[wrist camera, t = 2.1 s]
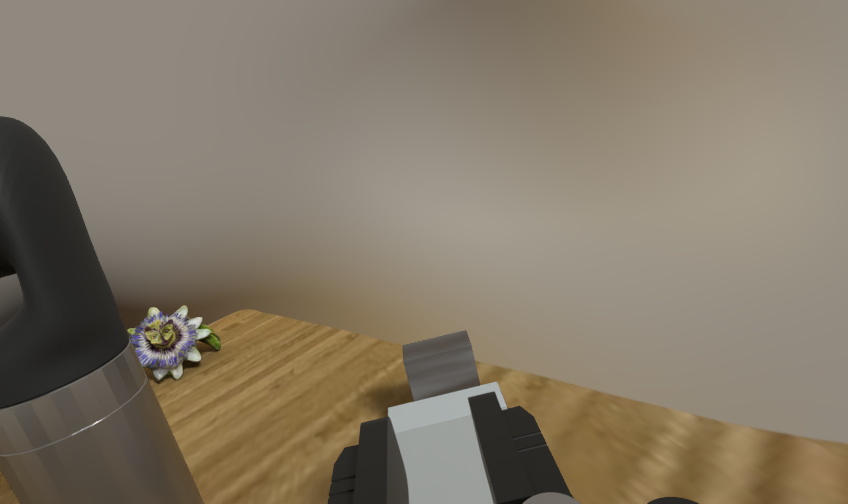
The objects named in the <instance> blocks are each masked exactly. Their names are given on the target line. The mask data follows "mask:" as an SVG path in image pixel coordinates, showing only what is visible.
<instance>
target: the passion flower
mask: <svg viewBox="0 0 848 504" xmlns="http://www.w3.org/2000/svg"><path fill="white" fill-rule="evenodd" d="M187 311H188V309H187V307H186V306H182V307H181V308H180V309H178V310H177V311H175V312H174V314H173V315H170V317H169V318H168V314H167V315H166V317H164V316H163V315H162V312H160V311H159V310H158V309H157V308H152V307H151V308H150V309H149V311H148V314H147V317H146V318H145V319H144V321H143V322H141V325H140V326H136V328H134V329H133V328H132V329H128V330H127V333H128V334H129V338H130V340H131V343H132V345H133V347H134V349H135V351H136V354H137V356H138V358H139V360H140V363H141V365H142V367H143V368H144V367H147V368H150V369H151V370H152V372H153V375H154V377H155V378H156V380H157V381H160V380H161V379H163V378H164V377H165V376H166V375H172V376H173V378H174V379H176V380H179V379H180V378H181V377H182V374H183V365H182V364H183V362H184V361H185V360H187V361H188V360H189V361H191V362H200V360H201V354H200V352H199V351H198V349H197V346H196V345H197V344H196V342H197V341H201V342H203V343H206V344H208V345H210V346H211V347H213V348H215V349H216V350H220V347H221V345H220V342H219V341H220V337H219V336H218V335H216V334H215V333H214V331H213V330H212V329H211V328H210V327H208V326H206V325H203V324H202V323H201V322H202V318H201V317H197V318H193V319H190V318H188V316H186V315H187ZM131 338H132V339H131Z"/></svg>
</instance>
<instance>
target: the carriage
mask: <svg viewBox="0 0 848 504" xmlns="http://www.w3.org/2000/svg"><path fill="white" fill-rule="evenodd" d="M493 391H494V392H495V394H496V396H497V399H498V401H499V404H500V407H501V409H502V410H505V409H507V406H506V403H505V401H504V398H503V396H502V393H501V391H500V388H499V386H498V383H497V382H493V383H489V384H485V385H481V386H477V387H473V388H468V389H464V390H460V391H456V392H452V393H448V394H444V395H439V396H435V397H431V398H427V399H423V400H419V401H414V402H410V403H406V404H402V405H398V406H394V407H390V408H388V416H389V417H390V419H391V422H392V425H393V428H394V432H395V435H396V439H397V442H398V445H399V449H400V452H401V456H402V459H403V463H404V466H405V471H406V476H407V482H408V491H409V504H494V503H493V499H492V496H491V492H490V488H489V484H488V481H487V477H486V473H485V469H484V465H483V462H482V458H481V453H480V449H479V445H478V441H477V436H476V432H475V428H474V424H473V419H472V415H471V411H470V406H469V402H468V397H472V396H476V395H480V394H484V393H489V392H493Z"/></svg>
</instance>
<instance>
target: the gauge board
mask: <svg viewBox="0 0 848 504" xmlns="http://www.w3.org/2000/svg"><path fill="white" fill-rule="evenodd" d="M402 346H403V362H404V366H405V370H406V373H407V377H408V381H409V384H410V388H411V392H412V396H413V399H414V401H419V400H423V399H427V398H431V397H435V396H439V395H444V394H448V393H452V392H456V391H460V390H464V389H468V388H473V387H477V386H480V382H479V378H478V373H477V369H476V364H475V360H474V355H473V351H472V346H471V343H470V340H469V337H468V334H467V332H466V331H461V332H457V333H453V334H448V335H444V336H440V337H436V338H432V339H428V340H423V341H419V342H415V343H411V344H407V345H402ZM500 391H501V390H500ZM501 393H502V392H501ZM502 396H503V395H502ZM503 398H504V397H503ZM504 401H505V400H504ZM505 403H506V402H505ZM506 406H507V404H506ZM507 409H508V407H507Z"/></svg>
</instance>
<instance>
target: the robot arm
mask: <svg viewBox="0 0 848 504" xmlns="http://www.w3.org/2000/svg"><path fill="white" fill-rule="evenodd" d="M16 273H17V275H18V278H19V281H20V285H21V288H22V292H23V297H24V300H23V305H22V307H21V308H20V309H19V311H18V312H17V313H16V314H15V315H14V317H13V318H12V319H11V320H9V321H8V322H7V323H6V324H5V325H3V326H2V327H1V328H0V470H1V472H2V474H3V475H4V477H5V479H6V481H7V482H8V484H9V486H10V487H11V489H12V491H13V492H14V494H15V496H16V498H17V499H18V501H19V503H20V504H204V502H203V500H202V498H201V495H200V493H199V491H198V489H197V486H196V484H195V482H194V479H193V477H192V475H191V473H190V471H189V468H188V466H187V464H186V462H185V459H184V457H183V455H182V453H181V451H180V448H179V446H178V444H177V442H176V440H175V437H174V435H173V433H172V431H171V428H170V426H169V424H168V422H167V420H166V417H165V415H164V413H163V411H162V409H161V406H160V404H159V402H158V400H157V397H156V395H155V393H154V391H153V389H152V386H151V384H150V382H149V380H148V377H147V375H146V374H145V371H144V369H143V367H142V365H141V363H140V360H139V358H138V356H137V354H136V351H135V349H134V347H133V345H132V343H131V340H130V338H129V336H128V334H127V331H126V330H125V327H124V325H123V322H122V320H121V318H120V314H119V312H118V308H117V305H116V302H115V299H114V296H113V294H112V291H111V288H110V286H109V284H108V281H107V279H106V277H105V274H104V272H103V270H102V268H101V265H100V263H99V260H98V258H97V255H96V252H95V250H94V247H93V245H92V242H91V240H90V237H89V234H88V231H87V229H86V226H85V223H84V221H83V218H82V215H81V212H80V209H79V207H78V204H77V201H76V198H75V196H74V193H73V191H72V189H71V186H70V184H69V181H68V179H67V176H66V174H65V173H64V171H63V169H62V167H61V165H60V163H59V161H58V159H57V157H56V156H55V154H54V153H53V152H52V150H51V149H50V147H49V146H48V144H47V143H46V142H45V141H44V140H43V139H42V138H41V137H40V136H39V135H38V134H37V133H36V132H35V131H34V130H33V129H32V128H31V127H29V126H28V125H26V124H25V123H23V122H21V121H19V120H16V119H14V118H9V117H2V116H1V117H0V278H1V277H5V276H9V275H12V274H16ZM468 402H469V406H470V411H471V415H472V419H473V424H474V428H475V432H476V436H477V441H478V445H479V449H480V453H481V458H482V462H483V465H484V469H485V473H486V477H487V481H488V484H489V488H490V492H491V496H492V499H493V503H494V504H580V503H579V502H578V501H576V500H575V499H574V498H573V497H572V495H571V493H570V491H569V489H568V487H567V485H566V483H565V481H564V479H563V477H562V475H561V473H560V471H559V468H558V466H557V464H556V462H555V460H554V458H553V456H552V454H551V452H550V450H549V448H548V446H547V444H546V441H545V439H544V437H543V435H542V434H541V431H540V429H539V427H538V425H537V423H536V421H535V418H534V416H532V415H531V414H530V413H528V412H527V411H526V410H524V409H523V408H522V407H520V406H517V407H513V408H509V409H505V410H502V409H501V407H500V404H499V401H498V399H497V396H496V394H495V392H494V391H493V392H489V393H484V394H480V395H476V396H472V397H468ZM329 496H330V498H329V499H328V504H409V491H408V482H407V476H406V471H405V466H404V463H403V459H402V456H401V452H400V449H399V445H398V442H397V439H396V435H395V432H394V428H393V425H392V422H391V419H390V417H389V416H388V417H384V418H380V419H376V420H372V421H368V422H363V423H361V426H360V436H359V445H355V446H350V447H346V448H344V450H343V451H342V453H341V454H340V456H339V457H338V459H337V461H336V462H335V464H334V468H333V475H332V484H331V487H330V493H329ZM648 504H698V503H696V502H694V501H691V500H688V499H684V498H678V497H664V498H659V499H655V500H653V501H651V502H649V503H648Z"/></svg>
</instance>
